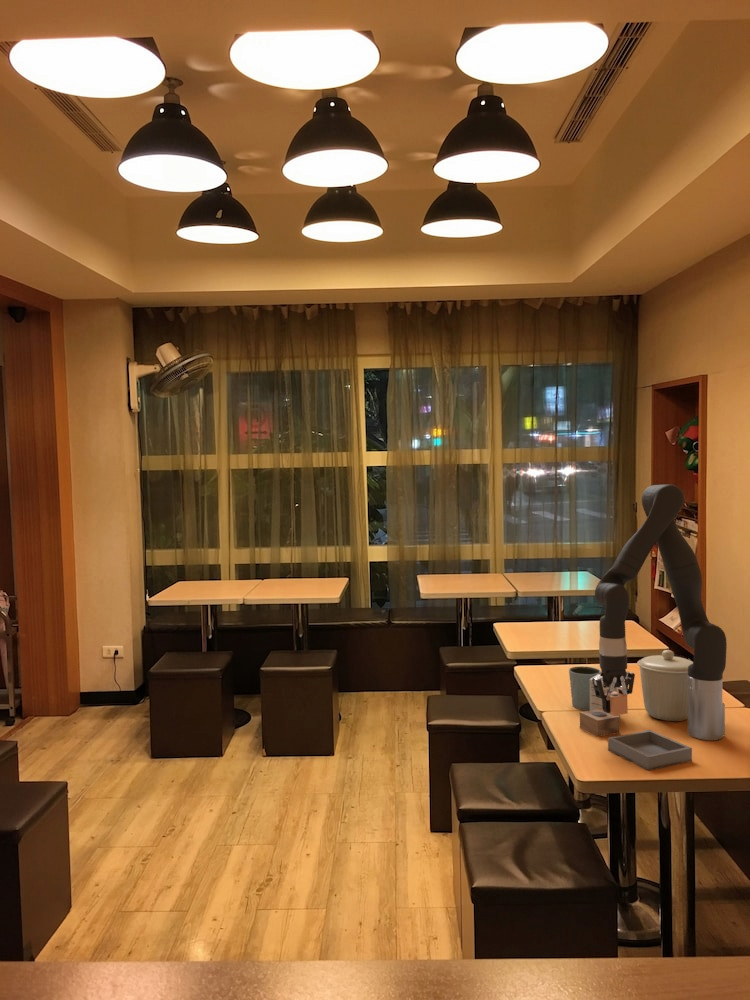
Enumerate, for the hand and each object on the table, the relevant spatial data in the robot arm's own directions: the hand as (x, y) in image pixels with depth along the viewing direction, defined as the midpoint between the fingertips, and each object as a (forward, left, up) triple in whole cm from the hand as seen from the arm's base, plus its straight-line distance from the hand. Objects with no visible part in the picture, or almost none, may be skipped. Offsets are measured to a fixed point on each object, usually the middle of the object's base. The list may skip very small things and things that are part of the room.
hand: (614, 710), depth 203 cm
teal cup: (-13, -28, -9) cm, 32 cm away
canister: (-30, -9, -9) cm, 32 cm away
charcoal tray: (-1, +13, -9) cm, 15 cm away
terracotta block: (0, 0, 0) cm, 0 cm away
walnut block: (-2, -8, -9) cm, 12 cm away
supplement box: (-11, -16, -9) cm, 21 cm away
